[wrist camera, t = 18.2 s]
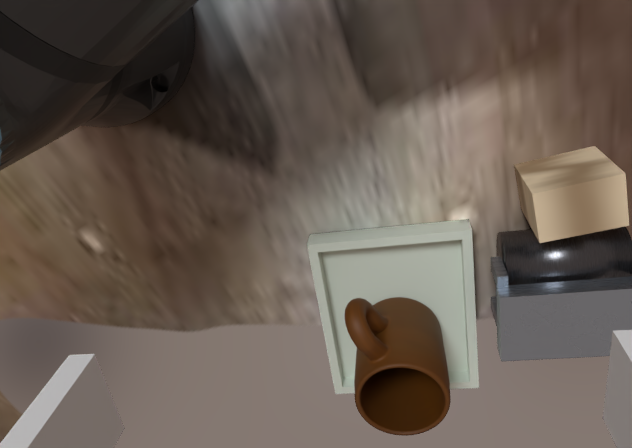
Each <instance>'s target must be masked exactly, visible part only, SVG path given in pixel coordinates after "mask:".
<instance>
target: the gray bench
mask: <svg viewBox="0 0 632 448" xmlns="http://www.w3.org/2000/svg"><path fill="white" fill-rule="evenodd" d="M491 272H492V275H493V278H494V281H495V284H496V296H495V297H491V309H492V312H493V316H494V319H495V322H496V326H497V338H498V339H497V342H498V351H499V355H500V358H501V361H516V360H517V361H518V360H538V359H556V358H557V359H558V358H578V357H597V356H610V350H611V341H612V333H613V331H616V330H632V240H631V237H630V235H629V232H628V230H627V228H626V227H619V228H614V229H609V230H604V231H599V232H594V233H589V234H584V235H579V236H574V237H569V238H564V239H559V240H554V241H549V242H544V243H539V241H538V239H537V238H536V236H535V234H534V232H533V230H532V229H531V230H520V231H508V232H499V233H498V235H497V257H491Z"/></svg>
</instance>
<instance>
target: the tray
mask: <svg viewBox="0 0 632 448" xmlns="http://www.w3.org/2000/svg"><path fill="white" fill-rule="evenodd" d="M307 248H308V253H309V259H310V264H311V269H312V274H313V280H314V285H315V290H316V295H317V300H318V306H319V311H320V316H321V321H322V327H323V332H324V337H325V342H326V347H327V352H328V358H329V363H330V368H331V374H332V379H333V384H334V389H335V394H351V393H355V387H354V378H355V365H356V351H357V347H356V346H355V344H354V342H353V341H352V339H351V337H350V335H349V333H348V331H347V328H346V324H345V308H346V306H347V304H348V303H349V302H350V301H351V300H352V299H356V298H363V299H366V300H367V301H368V302H370V303H371V304H372V305H374V304H376V303H378V302H380V301H382V300H385V299H388V298H394V297H404V298H410V299H413V300H416V301H419V302H421V303H423V304H424V305H426V306H427V307H428V308H430V309H431V310H432V311H433V313H434V314H435V315H436V317H437V319H438V321H439V323H440V326H441V331H442V337H443V343H444V349H445V354H446V361H447V367H448V374H449V381H450V389H468V388H479V374H478V351H477V330H476V307H475V285H474V263H473V241H472V228H471V225H470V222H469V219H466V220H455V221H445V222H434V223H423V224H413V225H402V226H392V227H381V228H371V229H360V230H350V231H339V232H328V233H318V234H310V235H309V239H308V243H307Z"/></svg>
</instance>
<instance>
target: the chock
mask: <svg viewBox="0 0 632 448" xmlns="http://www.w3.org/2000/svg"><path fill="white" fill-rule="evenodd" d="M514 168H515V174H516V180H517V186H518V193H519V199H520V205H521V210H522V212H523V214H524V215H525V217H526V219H527V221H528V223H529V225H530V226H531V228H532V230H533V232H534V234H535V236H536V238H537V239H538V241H539V243H544V242H549V241H554V240H559V239H564V238H569V237H574V236H579V235H584V234H589V233H594V232H599V231H604V230H609V229H614V228H619V227H625V226H629V216H628V202H627V189H626V175H625V173H624V172H623V171H622V170H621V169H620V168H619V167H618V166H616V165H615V164H614V163H613V162H612V161H611V160H610V159H609V158H608V157H606V156H605V155H604V154H603V153H602V152H601V151H600V150H599V149H597V148H596V147H595V146H593V147H588V148H584V149H580V150H575V151H571V152H567V153H562V154H558V155H554V156H549V157H545V158H541V159H537V160H532V161H528V162H524V163H519V164H515V165H514Z"/></svg>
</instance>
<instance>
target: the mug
mask: <svg viewBox="0 0 632 448" xmlns="http://www.w3.org/2000/svg"><path fill="white" fill-rule="evenodd" d="M345 324H346V328H347V331H348V333H349V335H350V337H351V339H352V341H353V342H354V344H355V346H356V347H357V351H356V365H355V378H354V387H355V402H356V406H357V409H358V411H359V413H360V414H361V416H362V417H363V418H364V419H365V420H366V421H367V422H368V423H369V424H370V425H372V426H373V427H375V428H376V429H378V430H381V431H383V432H386V433H390V434H394V435H414V434H420V433H423V432H425V431H428V430H429V429H432V428H434V427H435V426H437V425H438V424H439V423H440V422H441V421H442V420H443V419H444V417H445V416H446V414H447V412H448V410H449V407H450V381H449V374H448V367H447V361H446V354H445V349H444V343H443V337H442V331H441V326H440V323H439V321H438V319H437V317H436V315H435V314H434V313H433V311H432V310H431V309H430V308H428V307H427V306H426V305H424V304H423V303H421V302H419V301H416V300H413V299H410V298H404V297H394V298H388V299H385V300H382V301H380V302H378V303H376V304H374V305H372V304H371V303H370V302H368V301H367V300H366V299H363V298H356V299H352V300H351V301H350V302H349V303H348V304H347V306H346V308H345Z"/></svg>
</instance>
